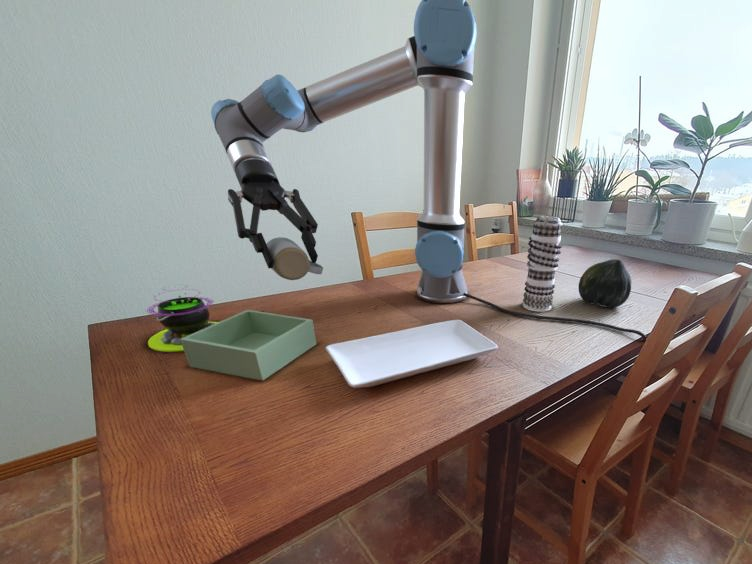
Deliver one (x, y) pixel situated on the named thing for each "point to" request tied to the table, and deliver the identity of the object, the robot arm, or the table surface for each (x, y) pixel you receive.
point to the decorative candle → (542, 263)
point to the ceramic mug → (290, 259)
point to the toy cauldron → (179, 321)
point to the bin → (250, 344)
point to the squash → (606, 284)
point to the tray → (408, 352)
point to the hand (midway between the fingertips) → (293, 261)
